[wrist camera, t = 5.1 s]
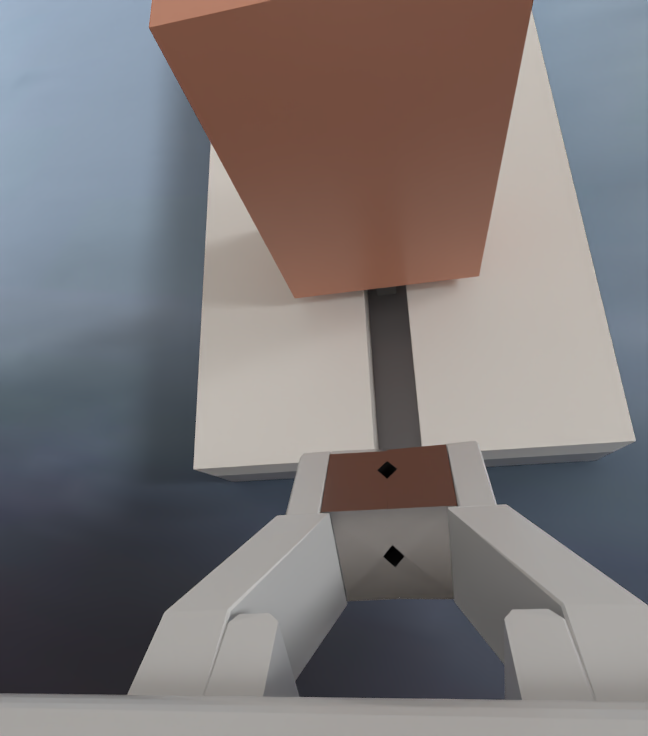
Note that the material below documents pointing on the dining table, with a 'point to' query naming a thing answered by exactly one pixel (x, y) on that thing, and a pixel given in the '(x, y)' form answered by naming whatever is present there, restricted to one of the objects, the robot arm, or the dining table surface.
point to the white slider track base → (417, 334)
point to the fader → (355, 127)
